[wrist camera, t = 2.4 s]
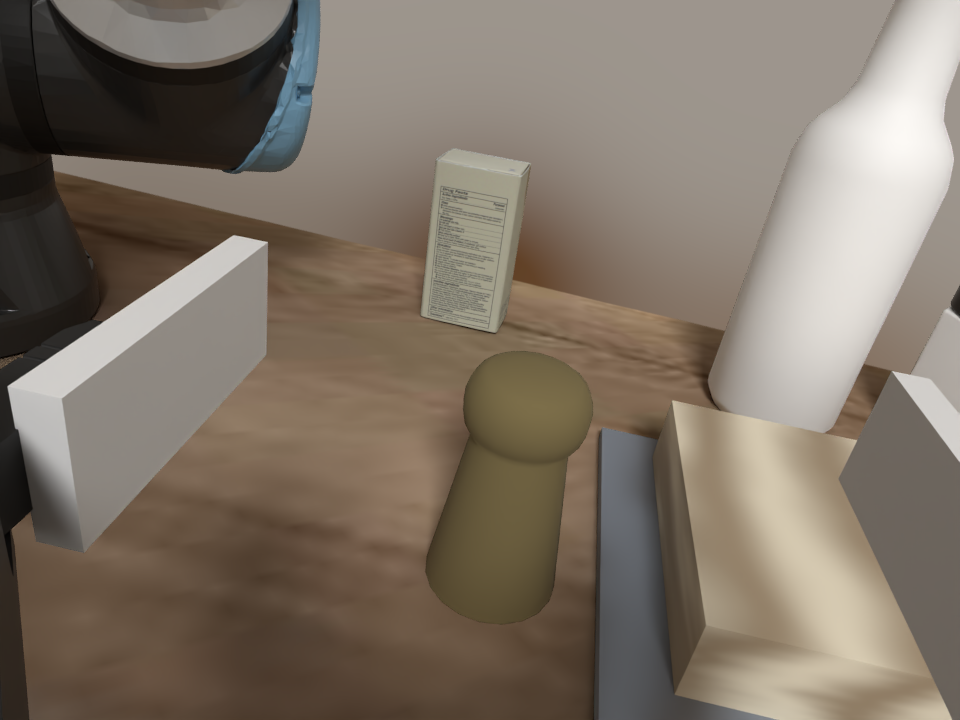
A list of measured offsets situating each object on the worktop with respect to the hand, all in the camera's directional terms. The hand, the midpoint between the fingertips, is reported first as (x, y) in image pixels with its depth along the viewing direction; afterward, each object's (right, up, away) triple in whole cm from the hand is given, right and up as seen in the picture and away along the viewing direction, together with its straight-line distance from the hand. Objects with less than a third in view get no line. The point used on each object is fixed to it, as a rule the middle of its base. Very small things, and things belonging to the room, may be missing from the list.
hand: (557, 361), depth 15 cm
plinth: (+15, -12, +20) cm, 27 cm away
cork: (-1, -10, +18) cm, 21 cm away
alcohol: (+19, -4, +36) cm, 41 cm away
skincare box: (-3, +3, +41) cm, 42 cm away
